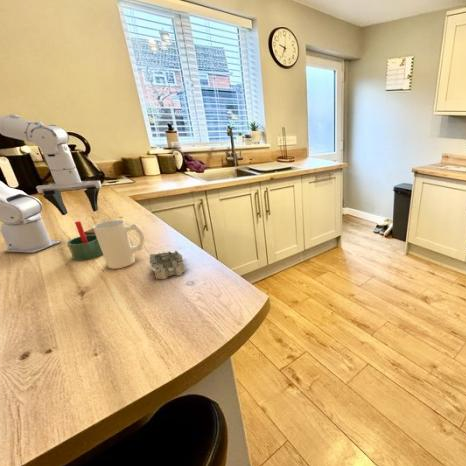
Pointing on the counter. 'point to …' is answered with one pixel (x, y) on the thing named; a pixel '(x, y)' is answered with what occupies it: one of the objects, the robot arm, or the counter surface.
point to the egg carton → (166, 264)
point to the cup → (85, 248)
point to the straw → (81, 232)
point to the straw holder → (90, 232)
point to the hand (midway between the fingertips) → (80, 212)
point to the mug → (117, 242)
